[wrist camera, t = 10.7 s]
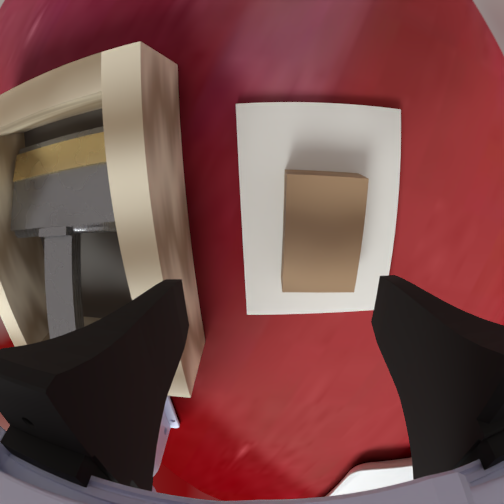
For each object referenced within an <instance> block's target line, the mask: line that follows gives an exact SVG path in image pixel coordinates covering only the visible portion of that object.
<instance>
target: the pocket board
mask: <svg viewBox="0 0 504 504" xmlns="http://www.w3.org/2000/svg"><path fill="white" fill-rule="evenodd" d="M102 126H103V129H104V141H105V152H106V162H107V170H108V178H109V186H110V193H111V200H112V206H113V212H114V218H115V224H116V230H117V231H116V232H99V233H83V234H81V286H82V303H83V316H84V327H85V326H87V325H89V324H91V323H93V322H95V321H97V320H100V319H101V318H103V317H105V316H107V315H109V314H111V313H112V312H114V311H116V310H117V309H119V308H121V307H122V306H124V305H126V304H127V303H129V302H130V301H132V300H134V299H135V298H137V297H138V296H140V295H141V294H143V293H144V292H146V291H147V290H149V289H150V288H152V287H153V286H155V285H156V284H158V283H160V282H161V281H163V280H165V279H182V284H183V291H184V297H185V303H186V309H187V315H188V321H189V330H188V335H187V340H186V344H185V348H184V351H183V354H182V357H181V359H180V362H179V365H178V368H177V370H176V373H175V376H174V379H173V381H172V384H171V387H170V390H169V392H168V395H167V396H177V397H188V398H191V394H192V390H193V386H194V382H195V379H196V375H197V371H198V367H199V363H200V359H201V356H202V352H203V348H204V344H205V336H204V330H203V324H202V318H201V311H200V305H199V298H198V291H197V284H196V277H195V269H194V262H193V254H192V246H191V238H190V229H189V220H188V211H187V201H186V191H185V180H184V168H183V156H182V142H181V128H180V110H179V90H178V65H177V64H175V63H174V62H172V61H171V60H169V59H168V58H166V57H165V56H163V55H162V54H160V53H159V52H157V51H155V50H154V49H152V48H151V47H149V46H147V45H146V44H144V43H142V42H141V41H140V42H136V43H132V44H128V45H124V46H120V47H117V48H113V49H110V50H106V51H103V52H100V53H97V54H94V55H91V56H88V57H85V58H82V59H79V60H76V61H74V62H71V63H68V64H66V65H63V66H61V67H58V68H56V69H53V70H51V71H49V72H46V73H44V74H42V75H39V76H37V77H35V78H33V79H31V80H29V81H27V82H24V83H22V84H20V85H18V86H16V87H14V88H13V89H11V90H9V91H7V92H5V93H3V94H1V95H0V316H1V318H2V320H3V322H4V325H5V327H6V329H7V331H8V334H9V336H10V337H11V340H12V342H13V344H14V346H15V347H16V346H22V345H28V344H33V343H37V342H41V341H45V340H49V339H50V335H49V327H48V317H47V306H46V292H45V266H44V241H45V238H44V237H26V238H17V237H16V235H15V232H14V231H10V230H11V213H12V201H13V191H14V183H15V182H13V177H14V170H15V163H16V157H17V155H19V151H20V149H23V148H26V147H29V146H32V145H35V144H38V143H41V142H44V141H48V140H51V139H55V138H58V137H62V136H65V135H69V134H73V133H77V132H81V131H85V130H89V129H93V128H98V127H102Z"/></svg>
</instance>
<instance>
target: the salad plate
mask: <svg viewBox="0 0 504 504" xmlns="http://www.w3.org/2000/svg"><path fill="white" fill-rule="evenodd" d="M411 480H413V467H412V457H409V458H403V459H396V460H388V461H380V462H369V463H363V464H360V465H357V466H355V467H354V468H352V469H351V470H350V471H349V472H348V473H347V475H346V476H345V477H344V478H343V479H342V480H341V481H340V483H339V484H338V485H337V486H336V487H335V488H334V489H332V490H331V491H330V492H329V493H328V494H327V495H326V496H335V495H343V494H349V493H356V492H362V491H367V490H372V489H377V488H382V487H387V486H391V485H395V484H399V483H403V482H407V481H411ZM326 496H325V497H326Z"/></svg>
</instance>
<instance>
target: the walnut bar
mask: <svg viewBox="0 0 504 504" xmlns="http://www.w3.org/2000/svg"><path fill="white" fill-rule="evenodd" d="M368 182H369V179H368V178H366V177H365V176H363V175H361V174H359V173H348V172H333V171H314V170H288V169H285V174H284V210H283V239H282V263H281V284H282V292H312V293H334V292H354V290H355V284H356V279H357V272H358V266H359V260H360V253H361V246H362V238H363V230H364V222H365V213H366V204H367V193H368Z"/></svg>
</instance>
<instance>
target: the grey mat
mask: <svg viewBox="0 0 504 504" xmlns="http://www.w3.org/2000/svg"><path fill="white" fill-rule="evenodd" d="M236 121H237V142H238V162H239V181H240V200H241V219H242V237H243V254H244V272H245V288H246V305H247V315H272V314H307V313H331V312H349V311H365V310H374V306H375V301H376V296H377V290H378V284H379V278H380V276H388V275H389V271H390V265H391V258H392V251H393V243H394V235H395V227H396V217H397V207H398V195H399V180H400V158H401V109H394V108H385V107H376V106H366V105H354V104H339V103H316V102H263V103H240V104H236ZM285 169H288V170H314V171H333V172H348V173H359V174H361V175H363V176H365V177H366V178H368V179H369V182H368V193H367V204H366V213H365V222H364V230H363V238H362V246H361V253H360V260H359V266H358V272H357V279H356V284H355V290H354V292H334V293H312V292H282V284H281V263H282V239H283V210H284V174H285Z"/></svg>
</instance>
